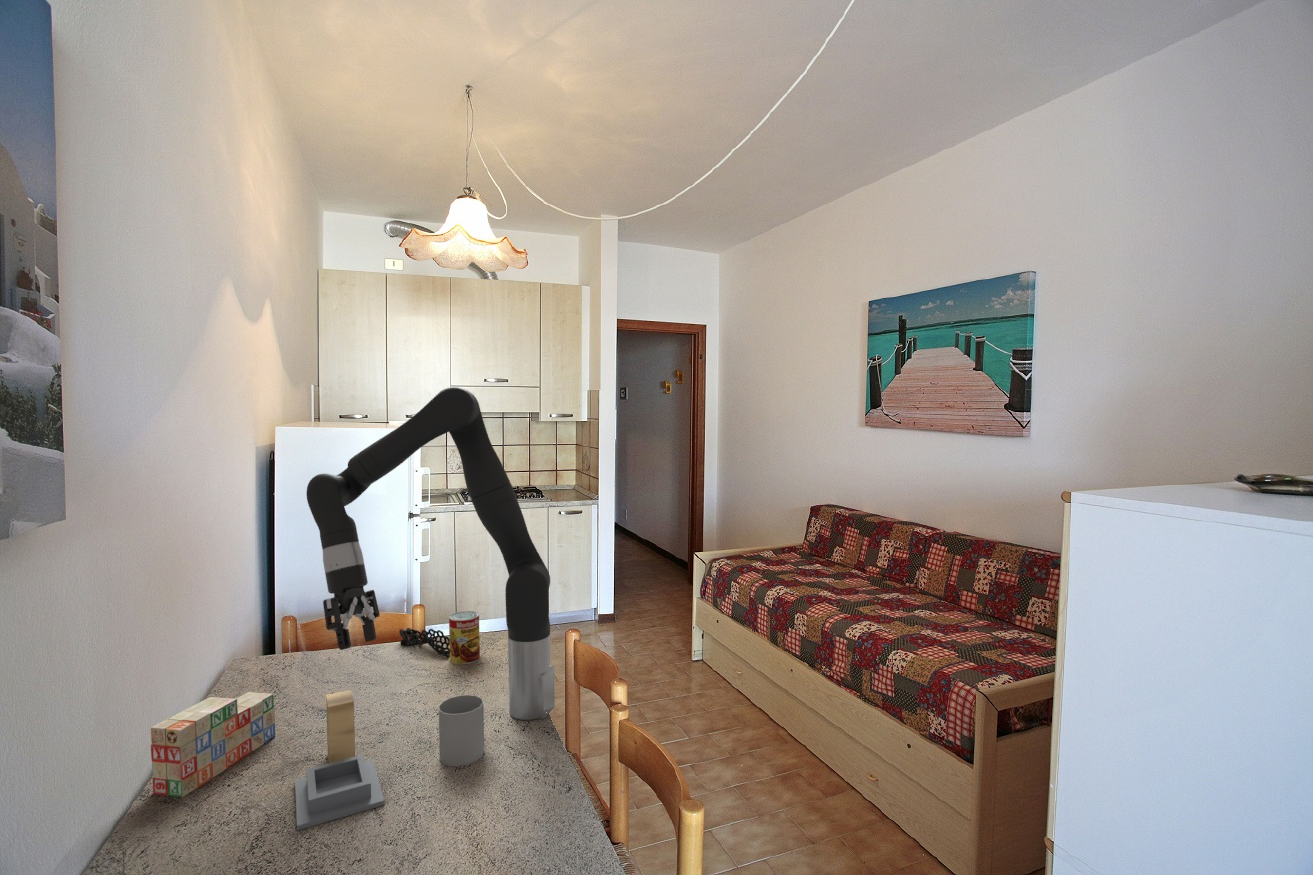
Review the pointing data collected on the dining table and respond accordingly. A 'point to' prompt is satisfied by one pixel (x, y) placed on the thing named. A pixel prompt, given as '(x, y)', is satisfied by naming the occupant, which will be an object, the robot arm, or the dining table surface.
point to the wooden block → (340, 726)
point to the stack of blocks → (208, 740)
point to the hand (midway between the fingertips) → (358, 644)
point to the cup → (461, 730)
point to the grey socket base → (337, 791)
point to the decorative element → (425, 640)
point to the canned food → (464, 637)
